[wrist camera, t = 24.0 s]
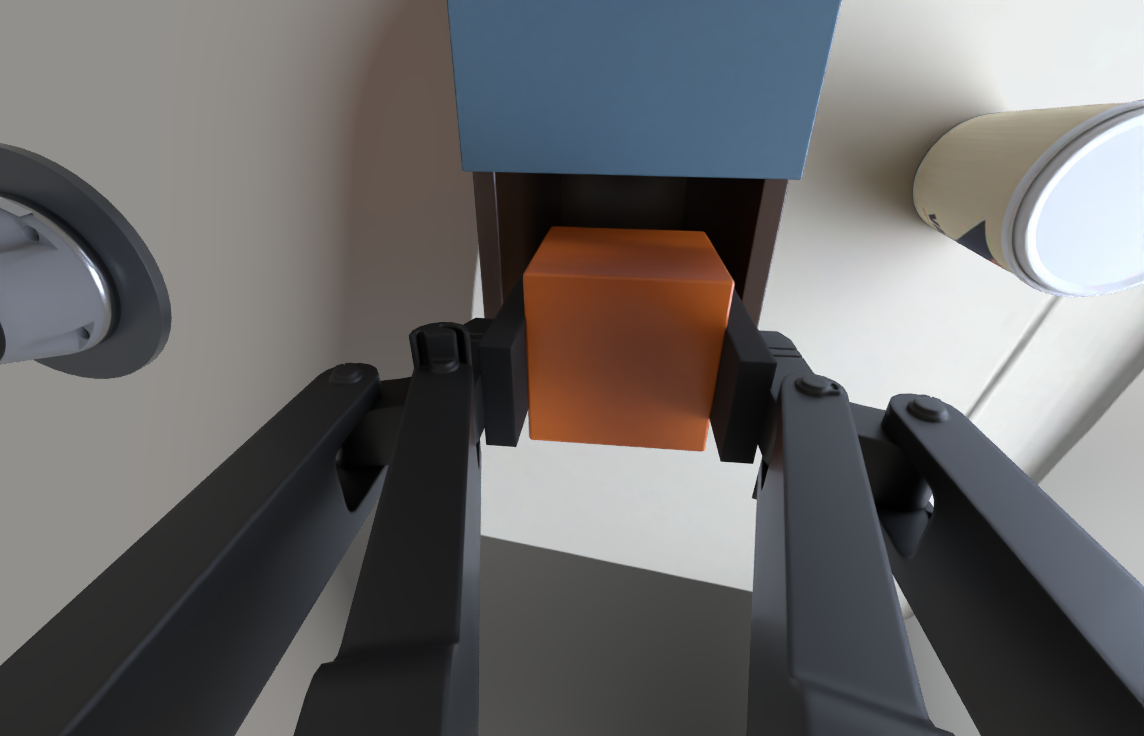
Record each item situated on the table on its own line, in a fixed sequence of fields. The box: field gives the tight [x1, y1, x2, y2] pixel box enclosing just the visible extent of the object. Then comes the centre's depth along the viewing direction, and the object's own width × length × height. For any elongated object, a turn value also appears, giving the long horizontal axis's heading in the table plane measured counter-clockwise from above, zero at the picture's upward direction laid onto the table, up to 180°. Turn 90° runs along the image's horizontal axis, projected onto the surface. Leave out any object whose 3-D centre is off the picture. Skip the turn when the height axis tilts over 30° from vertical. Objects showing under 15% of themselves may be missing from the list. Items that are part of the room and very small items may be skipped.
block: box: [523, 226, 735, 451], centre depth 15 cm, size 5×5×5 cm
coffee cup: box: [913, 99, 1144, 297], centre depth 28 cm, size 9×9×12 cm
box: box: [473, 171, 789, 329], centre depth 26 cm, size 11×16×21 cm
